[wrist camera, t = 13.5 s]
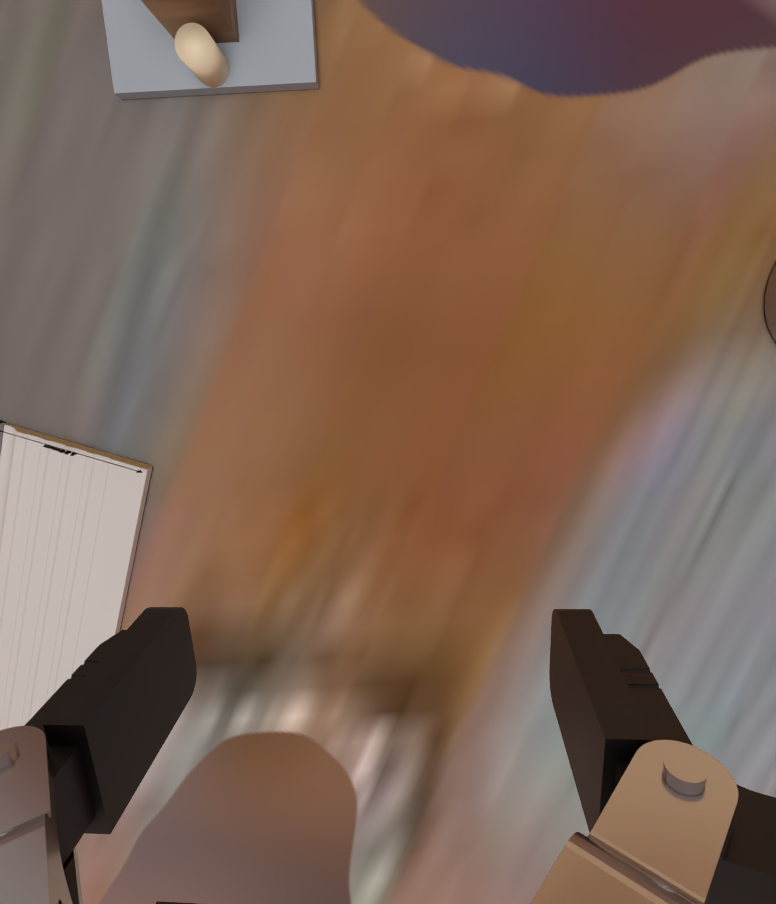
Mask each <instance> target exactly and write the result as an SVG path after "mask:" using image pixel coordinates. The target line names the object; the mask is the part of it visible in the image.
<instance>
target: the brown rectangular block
mask: <svg viewBox="0 0 776 904" xmlns="http://www.w3.org/2000/svg"><path fill="white" fill-rule="evenodd" d="M141 1H142V2H143V3H144V4H145V6H146V7H147V8H148V9H149V10H150V11H151V13H152V14H153V15H154V16H155V17H156V18H157V20H158V21H159V22H160V23H161V24H162V25H163V27H164V28H165V29H166V30H167V31H168V32H169V34H170V35H171V36H172V37H173V38H174V39H175V36H176V33H177V31H178V30H179V28H180V27H181V26H183V25H184V24H187V23H197V24H200V25H201V26H203V27H204V28H205V29H206V30H207V32H208V33H209V34H210V36H211V37H212V39H213V40H214V41H215V43H231V42H239V31H238V19H237V8H236V0H141Z"/></svg>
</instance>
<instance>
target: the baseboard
mask: <svg viewBox="0 0 776 904" xmlns="http://www.w3.org/2000/svg"><path fill="white" fill-rule="evenodd" d="M3 422H4V421H0V423H3ZM4 423H6V422H4ZM0 432H4V434H3V442H2V450H1V457H0V731H1V730H4V729H7V728H11V727H16V726H24V725H25V724H26V723H27V722H28V721H29V720H30V719H31V718H32V717H33V716H34V715H35V714H36V713H37V711H38V710H39V709H40V708H41V707H42V706H43V705H44V704H45V703H46V702H47V701H48V700H49V699H50V697H51V696H52V695H53V694H54V693H55V692H56V691H57V690H58V689H59V688H60V687H61V686H62V685H63V683H64V682H65V681H66V680H67V679H71V675H72V674H73V673H74V672H75V671H76V669H77V668H78V667H79V666H80V665H83V664H84V661H85V660H86V659H87V658H88V656H89V655H90V654H91V653H92V652H93V651H94V650H95V649H96V648H97V647H98V646H99V645H100V644H101V643H103V642H104V641H106V640H107V639H109V638H111V637H112V636H114V635H115V634H117V633H118V632H120V627H121V622H122V617H123V612H124V607H125V602H126V597H127V592H128V587H129V582H130V577H131V572H132V567H133V562H134V557H135V552H136V547H137V542H138V537H139V532H140V527H141V521H142V516H143V511H144V506H145V501H146V496H147V491H148V486H149V481H150V476H151V471H152V466H151V465H148V464H144V463H141V462H138V461H134V460H131V459H127V458H124V457H121V456H117V455H114V454H110V453H107V452H103V451H100V450H97V449H93V448H90V447H86V446H83V445H80V444H76V443H73V442H69V441H66V440H63V439H59V438H56V437H52V436H49V435H46V434H42V433H39V432H35V431H32V430H29V429H25V428H22V427H18V426H15V425H11V424H5V426H4V431H0Z"/></svg>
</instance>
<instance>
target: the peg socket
mask: <svg viewBox="0 0 776 904" xmlns="http://www.w3.org/2000/svg"><path fill="white" fill-rule="evenodd" d="M102 6H103V14H104V21H105V28H106V36H107V43H108V51H109V58H110V65H111V73H112V80H113V88H114V93H115V94H116V95H117V96H119V97H120V98H121V99H123V100H125V99H143V98H161V97H179V96H197V95H215V94H233V93H251V92H269V91H287V90H305V89H319V85H318V68H317V50H316V33H315V16H314V0H236V8H237V19H238V31H239V42H231V43H215V41H214V40H213V39H212V37H211V36H210V34H209V33H208V32H207V30H206V29H205V28H204V27H203V26H201V25H200V24H197V23H187V24H184V25H183V26H181V27H180V28H179V30H178V31H177V33H176V36H175V39H174V38H173V37H172V36H171V35H170V34H169V32H168V31H167V30H166V29H165V28H164V27H163V25H162V24H161V23H160V22H159V21H158V20H157V18H156V17H155V16H154V15H153V14H152V13H151V11H150V10H149V9H148V8H147V7H146V6H145V4H144V3H143V2H142V1H141V0H102Z"/></svg>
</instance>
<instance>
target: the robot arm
mask: <svg viewBox="0 0 776 904" xmlns="http://www.w3.org/2000/svg"><path fill="white" fill-rule="evenodd" d="M765 315H766V320H767V325H768V328H769V330H770V332H771V334H772V337H773V339H774V340H775V342H776V264H775V267H774V269H773V271H772V273H771V276H770V278H769V281H768V285H767V289H766V294H765ZM195 682H196V662H195V656H194V650H193V644H192V638H191V632H190V626H189V620H188V615H187V612H186V610H185V609H184V608H182V607H149V608H147V609H145V610H144V611H143V612H142V614H141V615H140V616H139V617H138V618H137V619H136V620H135V621H134V623H133V624H132V625H131V626H130V627H129V628H128V629H127V630H121V631H120V632H118V633H117V634H115V635H114V636H112V637H111V638H109V639H107V640H106V641H104V642H103V643H101V644H100V645H99V646H98V647H97V648H96V649H95V650H94V651H93V652H92V653H91V654H90V655H89V656H88V658H87V659H86V660H85V661H84V664H83V665H80V666H79V667H78V668H77V669H76V671H75V672H74V673H73V674H72V675H71V679H67V680H66V681H65V682H64V683H63V685H62V686H61V687H60V688H59V689H58V690H57V691H56V692H55V693H54V694H53V695H52V696H51V697H50V699H49V700H48V701H47V702H46V703H45V704H44V705H43V706H42V707H41V708H40V709H39V710H38V711H37V713H36V714H35V715H34V716H33V717H32V718H31V719H30V720H29V721H28V722H27V723H26V724H25V725H24V726H16V727H11V728H7V729H4V730H1V731H0V904H83V899H82V890H81V882H80V873H79V864H78V858H77V854H76V850H75V846H76V845H77V843H78V842H79V840H80V838H81V837H82V835H83V834H84V833H94V834H111V832H112V830H113V829H114V827H115V825H116V824H117V822H118V820H119V819H120V817H121V815H122V813H123V812H124V810H125V808H126V807H127V805H128V803H129V802H130V800H131V798H132V796H133V795H134V793H135V791H136V790H137V788H138V786H139V785H140V783H141V781H142V779H143V778H144V776H145V774H146V773H147V771H148V769H149V768H150V766H151V764H152V762H153V761H154V759H155V757H156V756H157V754H158V752H159V751H160V749H161V747H162V745H163V744H164V742H165V740H166V739H167V737H168V735H169V734H170V732H171V730H172V728H173V727H174V725H175V723H176V722H177V720H178V718H179V717H180V715H181V713H182V711H183V710H184V708H185V706H186V705H187V703H188V701H189V700H190V698H191V696H192V693H193V691H194V687H195ZM550 689H551V697H552V702H553V706H554V710H555V713H556V717H557V720H558V724H559V727H560V731H561V734H562V738H563V741H564V745H565V748H566V752H567V755H568V759H569V762H570V766H571V769H572V773H573V776H574V780H575V783H576V787H577V790H578V794H579V797H580V801H581V804H582V808H583V811H584V815H585V818H586V822H587V825H588V829H589V832H590V834H589V835H588V836H587V837H586V836H584V835H583V834H581V833H579V832H576V833H575V834H573V835H572V836H571V838H570V839H569V840H568V842H567V843H566V845H565V846H564V848H563V850H562V851H561V853H560V855H559V856H558V858H557V860H556V861H555V863H554V865H553V866H552V868H551V870H550V871H549V873H548V875H547V876H546V878H545V880H544V881H543V883H542V885H541V886H540V888H539V890H538V891H537V893H536V895H535V896H534V898H533V900H532V901H531V903H530V904H776V798H774V797H771V796H767V795H764V794H760V793H757V792H754V791H751V790H748V789H746V788H743V787H741V786H739V785H737V784H736V782H735V780H734V779H733V777H732V775H731V774H730V773H729V771H728V770H727V769H726V768H725V767H724V766H723V765H722V764H721V763H720V762H719V761H718V760H717V759H715V758H714V757H713V756H711V755H710V754H708V753H707V752H705V751H703V750H701V749H699V748H697V747H695V746H693V745H692V743H691V741H690V739H689V738H688V736H687V734H686V732H685V731H684V729H683V727H682V725H681V723H680V722H679V720H678V718H677V716H676V715H675V713H674V711H673V709H672V708H671V706H670V704H669V702H668V700H667V699H666V697H665V695H664V693H663V692H662V690H661V689H660V688H659V684H658V683H657V681H656V679H655V677H654V676H653V674H652V673H650V668H649V667H648V665H647V663H646V661H645V660H644V658H643V656H642V654H641V653H640V651H639V650H638V649H637V648H636V647H635V646H633V645H632V644H631V643H630V642H629V641H627V640H626V639H625V638H624V637H622V636H621V635H620V634H603V633H602V630H601V628H600V626H599V624H598V622H597V620H596V618H595V616H594V614H593V612H592V611H591V610H590V609H554V610H553V613H552V625H551V649H550ZM156 904H194V903H174V902H157V903H156Z"/></svg>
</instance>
